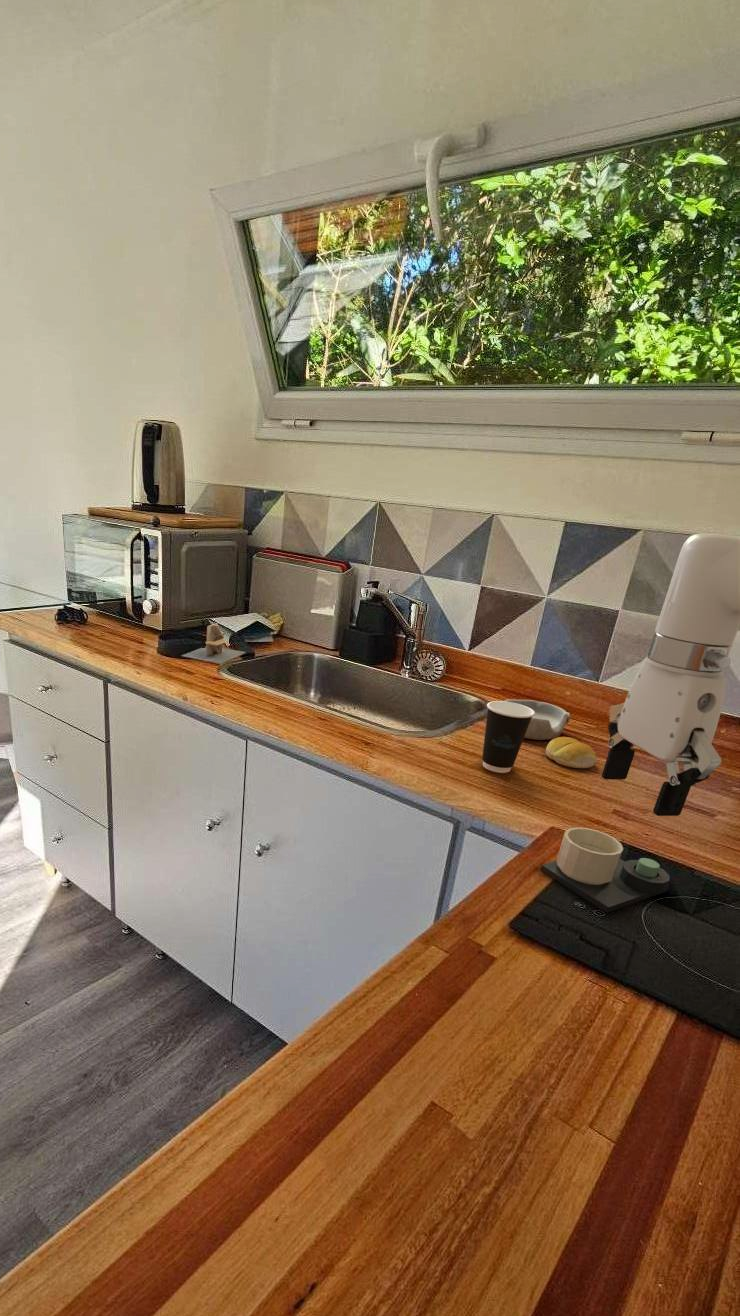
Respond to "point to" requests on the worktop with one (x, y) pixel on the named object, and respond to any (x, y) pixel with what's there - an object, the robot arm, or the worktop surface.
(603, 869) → the bowl
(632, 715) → the robot arm
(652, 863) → the button
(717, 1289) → the worktop surface
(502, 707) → the dixie cup
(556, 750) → the bread roll
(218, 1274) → the worktop surface
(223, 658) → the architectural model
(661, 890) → the scale
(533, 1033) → the worktop surface
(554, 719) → the dish
